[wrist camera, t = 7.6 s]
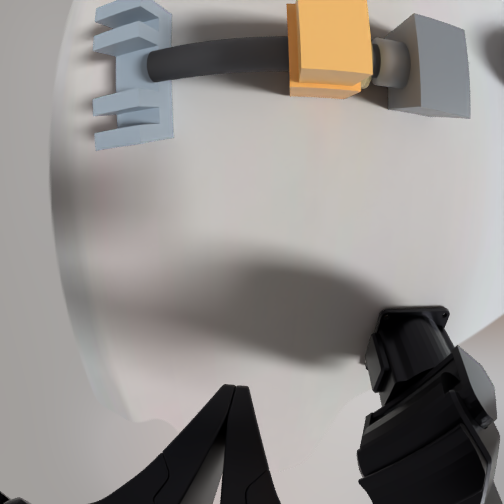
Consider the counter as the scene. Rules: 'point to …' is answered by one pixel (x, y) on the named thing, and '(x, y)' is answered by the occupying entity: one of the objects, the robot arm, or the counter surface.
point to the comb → (134, 73)
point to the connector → (425, 68)
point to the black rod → (226, 58)
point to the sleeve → (328, 47)
